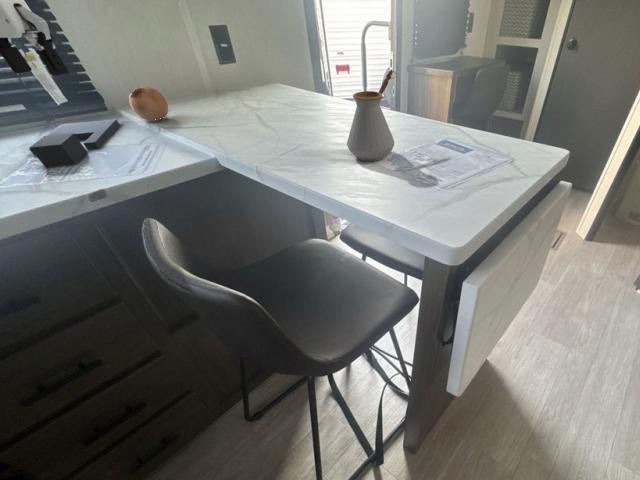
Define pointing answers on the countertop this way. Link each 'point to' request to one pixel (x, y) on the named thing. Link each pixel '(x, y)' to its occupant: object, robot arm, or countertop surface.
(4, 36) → the robot arm
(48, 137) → the black angular block
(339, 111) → the countertop surface
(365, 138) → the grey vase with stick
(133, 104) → the onion
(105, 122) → the notched block
